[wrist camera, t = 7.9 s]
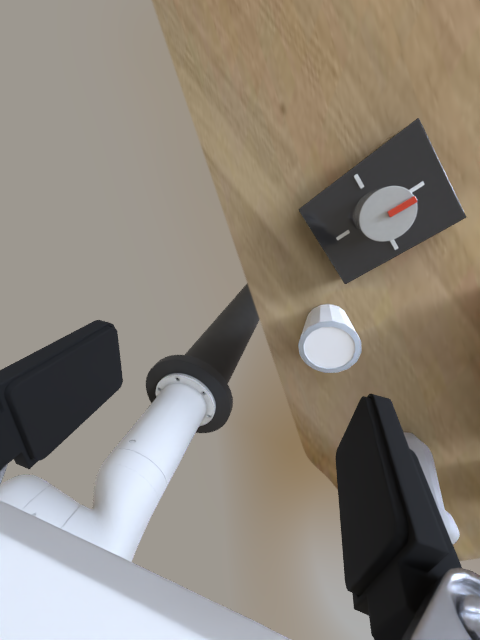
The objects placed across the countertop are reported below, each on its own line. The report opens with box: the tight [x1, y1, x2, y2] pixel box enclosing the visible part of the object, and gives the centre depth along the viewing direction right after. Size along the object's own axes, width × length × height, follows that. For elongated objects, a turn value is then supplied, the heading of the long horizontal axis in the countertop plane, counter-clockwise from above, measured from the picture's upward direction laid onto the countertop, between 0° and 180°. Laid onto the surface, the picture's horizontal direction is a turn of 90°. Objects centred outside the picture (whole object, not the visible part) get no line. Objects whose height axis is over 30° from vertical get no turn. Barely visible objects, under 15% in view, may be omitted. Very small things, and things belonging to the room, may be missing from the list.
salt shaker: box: [403, 432, 460, 544], centre depth 33 cm, size 6×6×13 cm
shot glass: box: [298, 304, 361, 373], centre depth 31 cm, size 7×7×7 cm
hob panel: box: [299, 118, 466, 284], centre depth 26 cm, size 12×10×3 cm
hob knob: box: [353, 186, 418, 242], centre depth 23 cm, size 4×4×5 cm
